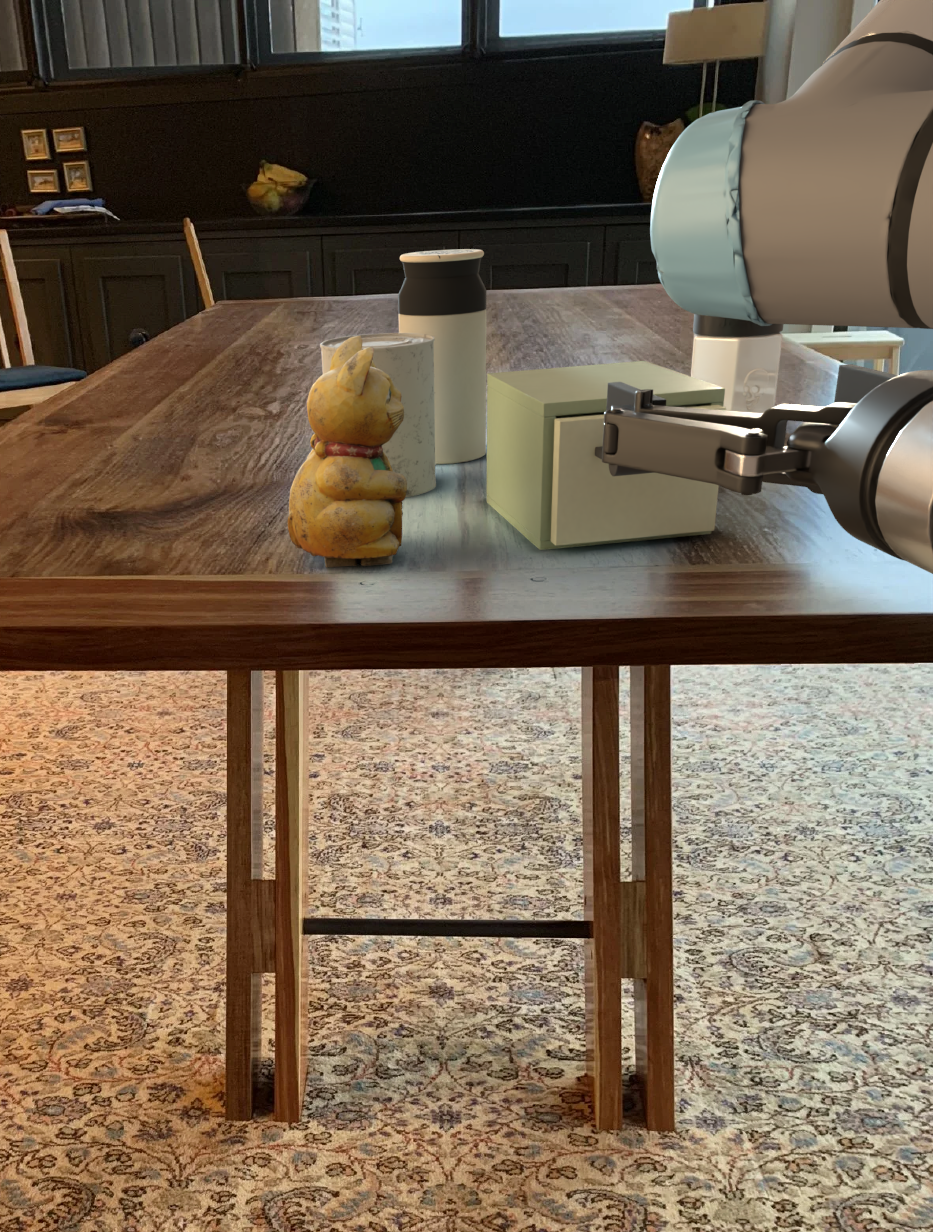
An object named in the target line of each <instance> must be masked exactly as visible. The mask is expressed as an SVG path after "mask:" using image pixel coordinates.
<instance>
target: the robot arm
mask: <svg viewBox="0 0 933 1232" xmlns="http://www.w3.org/2000/svg"><path fill="white" fill-rule="evenodd" d="M651 203H652V204H651V212H650V227H649V234H650V235H649V236H650V247H651V252H652V254H653V257H654V259H655V261H656V270H657V276H658V279H659V282H660V284H661V286H662V288H663V289H664V291H665V293H666V294H667V296H668V297H669V298H670V299H671V300H672V301H673V302H674V304H676V305H677V306H678V307H680V308H681V309H683V310H684V311H687V312H689V313H691V314H693V315H694V314H698V315H706V316H715V317H724V318H733V319H741V320H748V321H752V322H753V323H755V324H758V325H760V326H770V325H772V324H784V325H799V326H800V325H802V326H827V327H828V326H829V327H831V326H832V327H833V326H834V327H861V328H895V329H923V330H933V0H879V1H878V2H877V3H876V4H875V5H874V6H873V7H872V8H871V10H870V11H869V12H868V13H867V14H866V15H865V16H864V17H863V18H862V19H861V21H860V22H859V23H858V24H857V25H856V26H855V27H854V28H853V29H852V30H851V32H849V34H848V35H847V36H846V37H844V39H843V40H841V42H840V43H839V44H838V45H837V46H836V48H835V49H834V50H833V51H832V52H831V53H830V54H829V55H828V56H827V57H826V59H825V60H824V61H823V62H822V63H821V65H820V66H819V67H818V68H817V69H816V70H815V71H814V72H813V73H812V74H811V75H810V76H809V77H808V78H807V79H806V80H805V81H804V83H803V84H802V85H801V86H800V87H799V88H798V89H797V90H796V91H795V93H794V94H793V95H791V96H789V98H787V99H785V100H783V101H780V102H776V103H765V102H763V101H762V100H757V99H755V100H749V101H747V102H745V103H744V104H743V105H742V106H737V107H732V108H727V109H722V110H721V109H720V110H716V111H714V112H709V113H707V114H705V115H703V116H701V117H699V118H696V119H695V120H694V121H693V122H691V123H690V124H689V125H688V126H687V127H685V129H684V130H683V131H682V132H681V133H680V134H679V136H678V137H677V138H676V140H675V142H674V143H673V145H672V146H671V148H670V150H669V152H668V153H667V155H666V158H665V159H664V162H663V164H662V167H661V169H660V171H659V175H658V178H657V181H656V184H655V188H654V192H653V197H652V202H651ZM788 421H789V422H800V424H799V425H798V426H797V428H796V429H795V430H794V431H793V432H792V433H791V434H790V435H789V437H788V438H787V440H786V434H787V426H788ZM785 441H786V443H785ZM785 444H786V445H785ZM602 462H603V463H608V464H609V465H618V466H623V467H628V468H633V469H639V470H644V471H649V472H654V473H659V474H665V475H670V476H675V477H680V478H685V479H691V480H696V481H701V482H706V483H711V484H716V485H719V487H722V488H724V489H727V490H729V491H732V492H734V493H737V494H740V495H742V496H752V495H757V494H759V493H761V492H762V487H763V483H767V484H775V485H785V486H793V487H803V488H806V489H808V490H809V491H810V492H811V493H813V494H816V495H822V496H823V497H824V499H825V501H826V504H827V506H828V508H829V510H830V512H831V514H832V516H833V517H834V519H835V521H836V522H837V523H838V524H839V526H840V527H841V528H842V529H843V530H844V531H845V532H846V533H847V534H849V536H851V537H852V538H855V540H858V541H860V542H862V543H864V544H866V545H868V546H871V547H872V548H874V549H877V550H879V551H881V552H882V553H885V554H887V555H889V556H891V557H893V558H896V559H898V560H901V561H905V562H907V563H909V564H911V565H913V566H915V567H917V568H919V569H921V570H924V571H926V572H928V573H929V574H931V575H933V369H921V370H914V371H909V372H905V373H902V374H900V375H898V374H894V373H890V372H886V371H882V370H878V369H874V368H868V367H865V366H861V365H857V364H853V363H852V364H839V365H838V372H837V378H836V384H835V394H834V401H833V403H830V404H829V405H828V404H827V405H826V406H818V405H817V406H816V405H803V404H802V405H801V404H792V403H791V404H789V403H781V404H780V403H779V404H777V405H775V406H774V407H772V408H769V409H767V410H766V411H765V412H764V413H750V412H737V411H724V410H711V409H698V408H685V407H672V406H666V399H664V398H661V397H659V396H656V395H653V389H643V390H641V389H638V388H635V387H633V386H630V385H628V384H625V383H623V382H611V383H608V389H607V407H606V411H605V412H604V428H603V447H602Z"/></svg>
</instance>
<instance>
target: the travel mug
mask: <svg viewBox="0 0 933 1232" xmlns="http://www.w3.org/2000/svg"><path fill="white" fill-rule="evenodd" d="M484 255H485V252H484V251H483V249H476V248H475V249H474V248H471V249H470V248H464V249H463V248H462V249H461V248H460V249H457V248H455V249H437V250H424V251H415V252H414V251H413V252H408V253H407V252H406V253H403V254H401V255H400V256H399V260H400V262H401V263H402V266H403V272H404V277H405V278H404V280H403V283H402V285H401V288H400V290H399V292H398V294H397V307H398V308H397V310H398V333H418V334H427V335H432V336H434V337H435V341H434V405H435V465H453V464H461V463H468V462H472V461H475V460H478V459H481V458H482V457H483V456H485V455H487V288H486V287H485V284H484V283H483V280H482V278H481V276H480V274H479V273H480V267H481V261H482V258H483V256H484Z"/></svg>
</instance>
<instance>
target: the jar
mask: <svg viewBox="0 0 933 1232" xmlns="http://www.w3.org/2000/svg"><path fill="white" fill-rule="evenodd" d="M692 325H693V326H692V333H693V337H692V349H691V350H692V351H691V361H690V374H689V376H690V377H693V378H696V379H699V380H702V381H705V382H708V383H711V384H714V385H716V386H719V387H722V388H725V395H724V405H723V407H726V411H737V412H750V413H764V412H765V411H766V410H767V409H769V408H772V407H775V406H776V405H775V404H776V397H777V387H778V378H779V370H780V362H781V361H780V360H781V353H782V346H783V345H782V344H783V334H782V332H783V330H784V325H785V324H772V325H770V326H760V325H758V324H755V323H753V322H752V321H748V320H741V319H733V318H724V317H715V316H706V315H698V314H694V313H693V324H692Z"/></svg>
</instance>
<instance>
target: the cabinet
mask: <svg viewBox="0 0 933 1232" xmlns="http://www.w3.org/2000/svg"><path fill="white" fill-rule="evenodd" d="M611 382H623V383H625V384H628V385H630V386H633V387H635V388H638V389H641V390H643V389H653V395H656V396H659V397H661V398H664V399H666V406H681V405H692V404H693V405H696V406H710V405H720V406H723V405H724V395H725V388H722V387H719V386H716V385H714V384H711V383H708V382H705V381H702V380H699V379H696V378H693V377H690V375H687V374H684V373H681V372H678V371H676V370H672V369H669V368H666V367H664V366H661V365H658V364H655V363H653V362H649V361H646V360H637V361H623V362H612V363H600V364H598V363H597V364H588V365H587V364H586V365H575V366H561V367H560V366H559V367H551V368H550V367H549V368H538V369H537V368H535V369H526V370H525V369H524V370H514V371H513V370H511V371H499V372H489V373H486V503H487V504H488V506H490V507H491V508H492V509H493V510H494V511H496V512H497V513H498V514H499V515H500V516H501V517H502V518H503V519H504V520H506V521H507V522H508V523H509V524H510V525H511V526H512V527H513V528H514V529H516V530H517V531H518V532H519V533H520V534H521V535H522V536H523V537H525V538H526V539H527V540H528V541H529V542H530V543H531V544H532V545H533V546H535V547H536V548H537V549H538V550H539V551H545V550H546V551H547V550H553V549H554V550H556V549H565V548H576V547H586V546H587V547H588V546H595V545H607V544H617V543H628V542H639V541H649V540H659V539H669V538H678V537H690V536H701V535H711V534H712V531H704V532H694V533H683V534H673V535H662V536H652V537H642V538H631V539H621V540H610V541H600V542H590V543H579V544H569V545H558V546H556V545H554V544H553V543H552V542H551V516H552V485H553V453H554V422H555V419H556V416H563V415H575V414H586V413H598V412H605V411H606V407H607V389H608V383H611Z"/></svg>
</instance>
